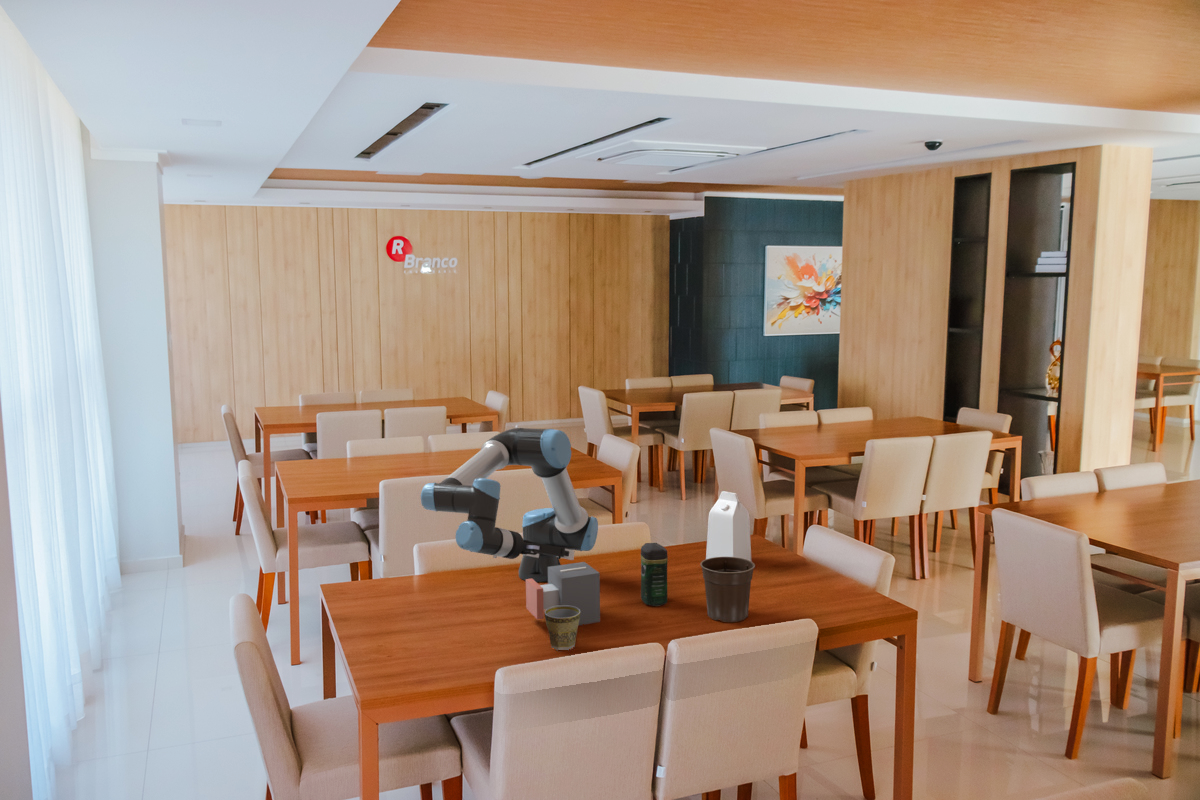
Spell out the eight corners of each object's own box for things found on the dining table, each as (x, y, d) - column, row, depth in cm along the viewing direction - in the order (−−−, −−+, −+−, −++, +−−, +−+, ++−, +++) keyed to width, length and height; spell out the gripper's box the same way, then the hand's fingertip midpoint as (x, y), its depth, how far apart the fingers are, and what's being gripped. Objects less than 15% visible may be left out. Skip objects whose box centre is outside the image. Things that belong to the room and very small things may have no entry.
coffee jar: (670, 605, 265) (670, 548, 263) (646, 608, 264) (645, 550, 262) (661, 595, 275) (661, 539, 273) (638, 597, 273) (637, 541, 271)
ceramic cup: (581, 652, 231) (581, 617, 229) (545, 654, 230) (544, 618, 229) (579, 634, 244) (578, 600, 242) (544, 635, 243) (543, 602, 242)
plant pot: (690, 610, 261) (690, 559, 259) (736, 603, 267) (736, 553, 265) (717, 629, 246) (717, 575, 244) (764, 620, 252) (765, 568, 250)
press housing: (562, 628, 248) (561, 577, 246) (548, 614, 259) (547, 565, 257) (600, 621, 253) (599, 572, 251) (584, 608, 264) (584, 560, 262)
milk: (751, 562, 309) (752, 492, 306) (733, 569, 301) (733, 497, 298) (724, 555, 317) (724, 487, 314) (705, 562, 309) (706, 492, 306)
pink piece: (537, 619, 246) (536, 589, 245) (526, 608, 255) (525, 579, 254) (581, 612, 251) (581, 582, 250) (569, 601, 260) (569, 572, 259)
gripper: (471, 555, 239) (522, 564, 254) (536, 559, 223) (586, 569, 239) (475, 528, 240) (526, 539, 256) (539, 531, 225) (589, 543, 241)
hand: (555, 554), depth 247 cm, fingers open, 13 cm apart
